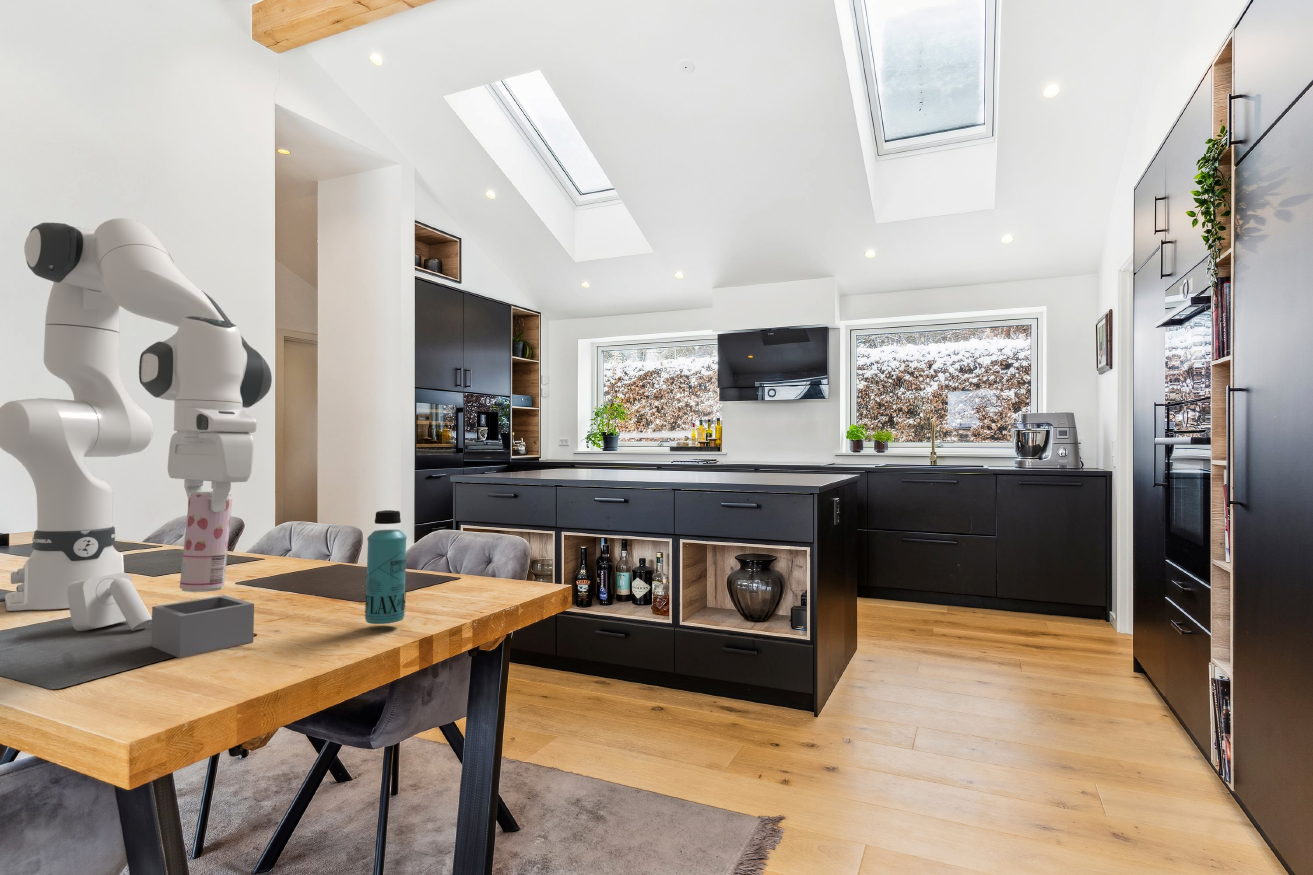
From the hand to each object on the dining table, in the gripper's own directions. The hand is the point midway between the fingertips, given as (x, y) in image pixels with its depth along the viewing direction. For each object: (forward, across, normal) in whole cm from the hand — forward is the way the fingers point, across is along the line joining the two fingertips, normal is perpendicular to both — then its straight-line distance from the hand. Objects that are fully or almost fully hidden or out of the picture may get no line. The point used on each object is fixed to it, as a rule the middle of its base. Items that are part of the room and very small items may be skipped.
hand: (206, 510), depth 104 cm
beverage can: (+12, 0, 0) cm, 12 cm away
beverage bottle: (+21, +14, +22) cm, 33 cm away
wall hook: (+21, -21, -4) cm, 30 cm away
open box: (+21, 0, 0) cm, 21 cm away
